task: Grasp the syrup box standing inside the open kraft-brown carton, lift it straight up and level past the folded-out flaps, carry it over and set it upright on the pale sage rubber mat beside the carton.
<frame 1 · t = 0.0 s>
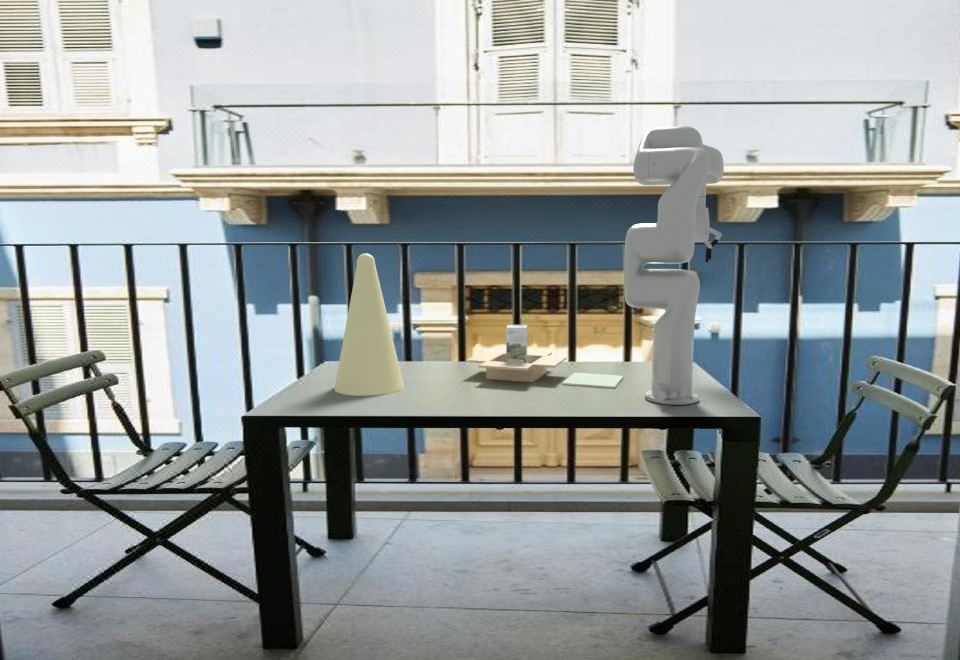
hand: (690, 261, 208), 31 cm above the table, tool pointing down, fingers open, 9 cm apart
syrup box: (516, 376, 200), resting in kraft carton
kraft carton: (516, 375, 200), on the table
sage rubber mat: (593, 381, 192), on the table
cone light: (369, 385, 190), on the table
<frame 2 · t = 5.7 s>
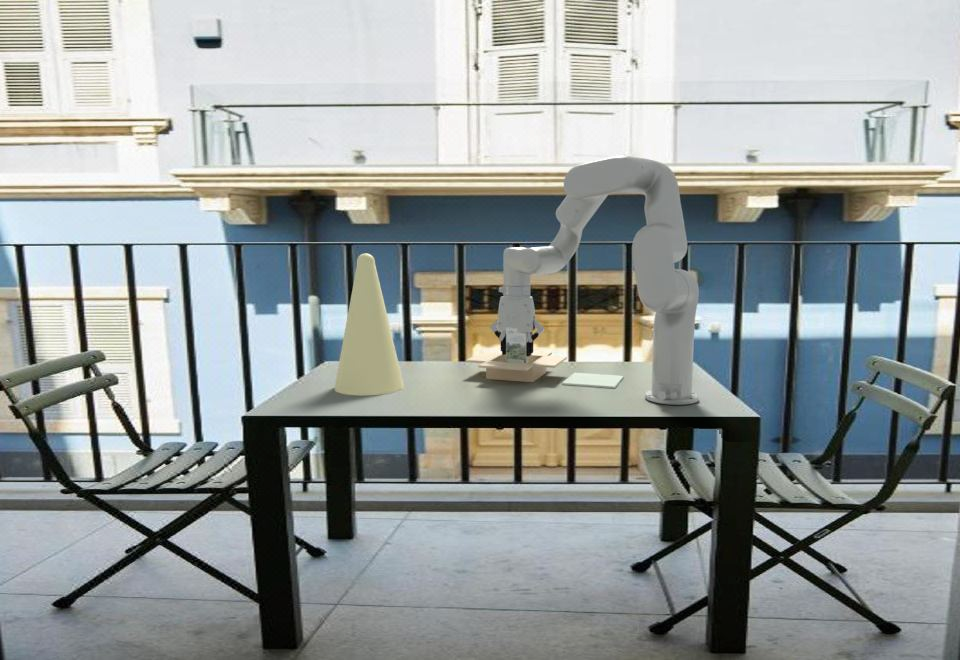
hand: (516, 354, 199), 6 cm above the table, tool pointing down, fingers closed on syrup box, 6 cm apart
syrup box: (516, 376, 200), resting in kraft carton, touching gripper
everything else where it was.
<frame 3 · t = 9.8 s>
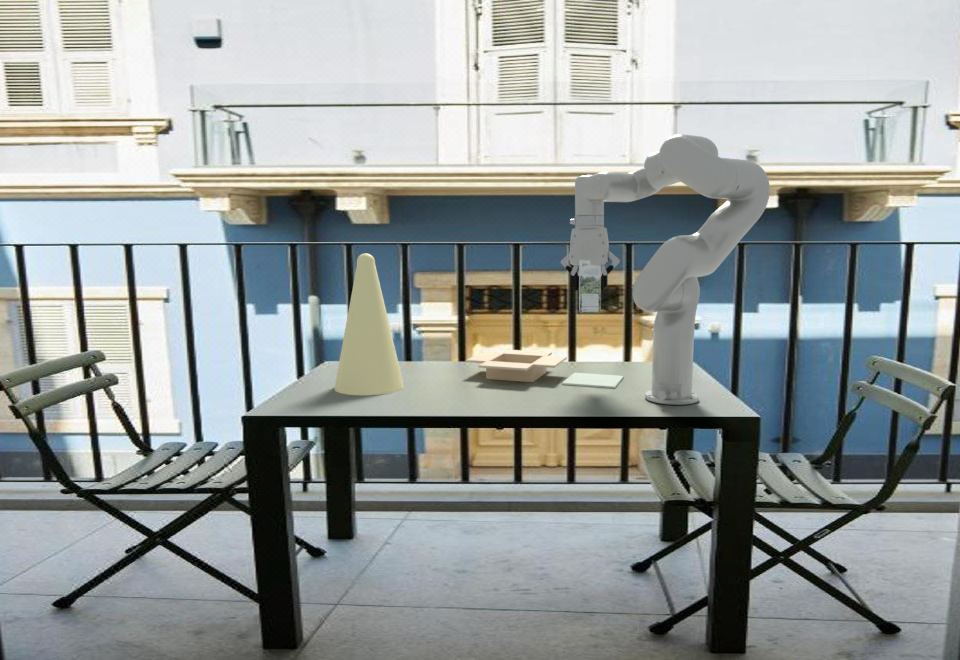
hand: (589, 289, 189), 25 cm above the table, tool pointing down, fingers closed on syrup box, 6 cm apart
syrup box: (589, 313, 190), point 19 cm above the table, touching gripper
everything else where it was.
when the fingers open (8 cm above the table, at t = 14.3 s): syrup box drops 1 cm, resting on sage rubber mat.
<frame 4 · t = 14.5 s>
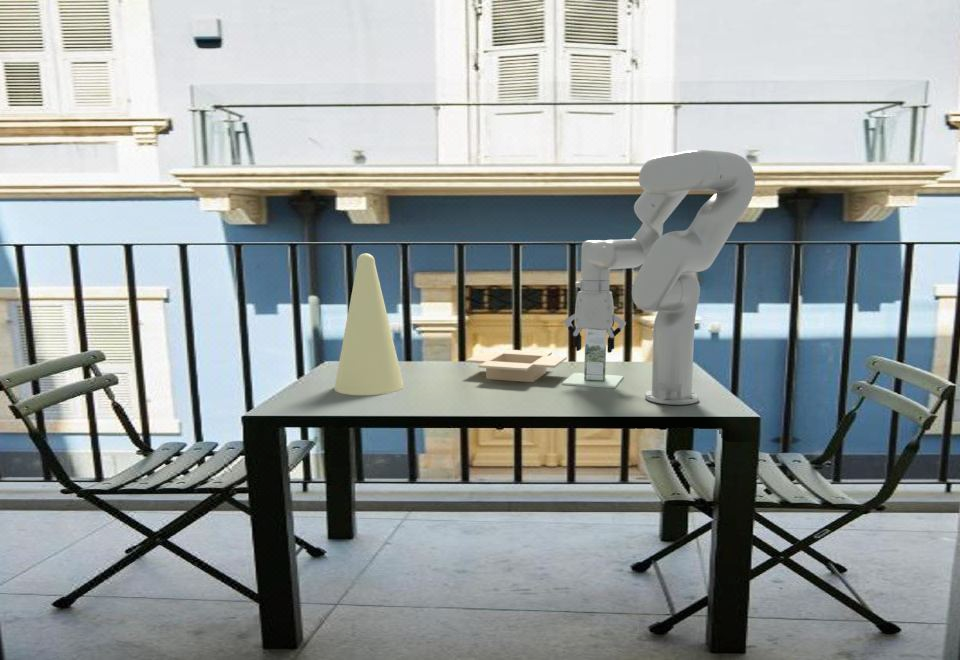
hand: (594, 350, 191), 8 cm above the table, tool pointing down, fingers open, 8 cm apart
syrup box: (594, 379, 192), resting on sage rubber mat
everything else where it was.
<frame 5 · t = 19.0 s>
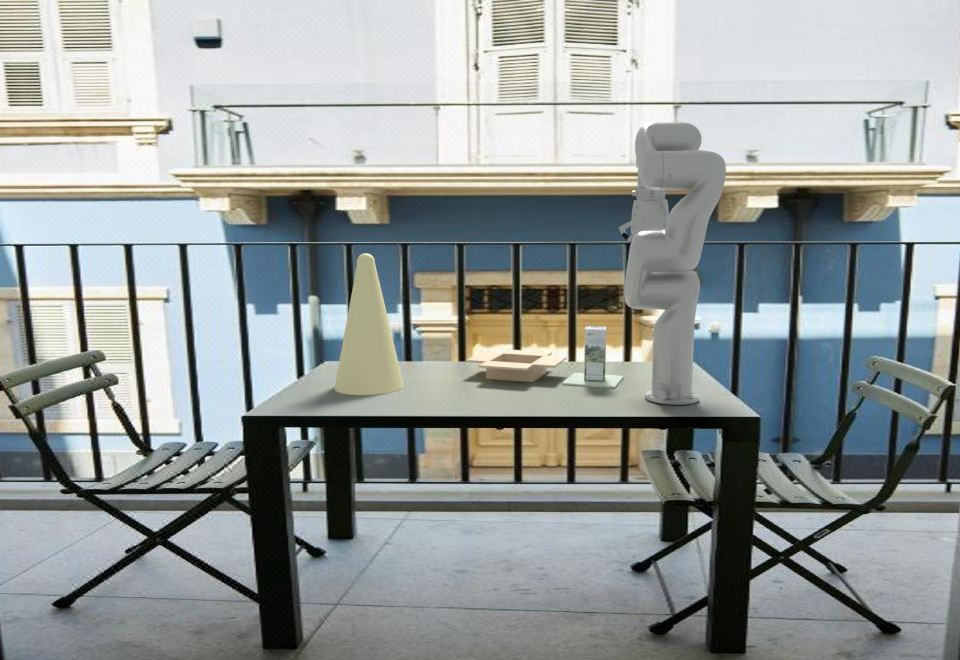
hand: (649, 256, 198), 33 cm above the table, tool pointing down, fingers open, 9 cm apart
nothing on the table moved.
at the end: syrup box inside the target area on the sage rubber mat (0.3 cm from its centre), point 0.3 cm above the sage rubber mat's base; syrup box tilted 0°; the gripper is holding nothing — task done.
